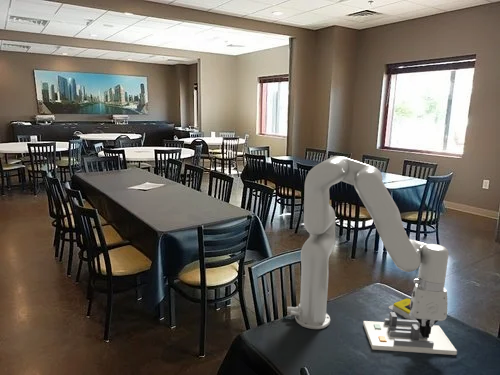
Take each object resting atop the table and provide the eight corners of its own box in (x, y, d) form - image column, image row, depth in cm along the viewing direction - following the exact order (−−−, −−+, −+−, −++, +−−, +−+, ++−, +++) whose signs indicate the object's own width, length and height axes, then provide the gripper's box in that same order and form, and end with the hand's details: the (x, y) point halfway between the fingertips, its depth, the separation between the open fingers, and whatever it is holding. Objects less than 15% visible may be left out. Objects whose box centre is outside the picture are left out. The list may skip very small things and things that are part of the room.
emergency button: (422, 316, 131) (387, 298, 144) (421, 327, 132) (386, 308, 144) (438, 310, 135) (403, 292, 148) (436, 320, 136) (402, 302, 149)
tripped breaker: (413, 343, 119) (414, 329, 118) (410, 337, 122) (411, 324, 121) (418, 343, 119) (420, 329, 118) (415, 338, 122) (416, 324, 121)
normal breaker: (391, 329, 126) (392, 316, 125) (388, 324, 129) (389, 311, 128) (395, 330, 126) (397, 316, 125) (393, 325, 129) (394, 312, 128)
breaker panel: (372, 349, 119) (372, 340, 118) (363, 324, 132) (363, 316, 132) (456, 355, 116) (457, 345, 116) (438, 329, 130) (439, 320, 129)
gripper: (410, 287, 113) (404, 340, 117) (461, 290, 112) (453, 344, 116) (402, 276, 120) (397, 327, 124) (450, 279, 119) (443, 330, 123)
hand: (424, 335), depth 120 cm, fingers closed
